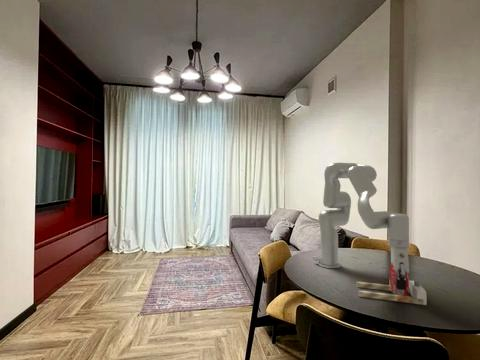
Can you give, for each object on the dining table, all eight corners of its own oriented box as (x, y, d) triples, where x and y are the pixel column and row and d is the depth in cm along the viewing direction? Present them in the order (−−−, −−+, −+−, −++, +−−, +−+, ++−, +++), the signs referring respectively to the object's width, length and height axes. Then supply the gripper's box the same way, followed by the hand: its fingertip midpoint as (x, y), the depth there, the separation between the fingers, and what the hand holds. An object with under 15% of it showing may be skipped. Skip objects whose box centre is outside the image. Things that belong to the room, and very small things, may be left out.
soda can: (401, 289, 114) (401, 261, 115) (413, 296, 107) (412, 267, 108) (385, 290, 114) (385, 262, 114) (396, 297, 107) (395, 267, 107)
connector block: (417, 303, 104) (417, 285, 104) (409, 291, 115) (408, 275, 115) (426, 304, 103) (426, 286, 103) (417, 292, 114) (416, 276, 114)
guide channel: (359, 296, 110) (358, 291, 110) (356, 285, 122) (356, 281, 122) (423, 304, 103) (423, 299, 103) (414, 292, 114) (414, 287, 114)
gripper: (415, 248, 102) (415, 295, 102) (403, 239, 118) (403, 279, 118) (392, 247, 104) (393, 292, 104) (384, 238, 121) (385, 277, 120)
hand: (398, 285), depth 111 cm, fingers closed on soda can, 6 cm apart
